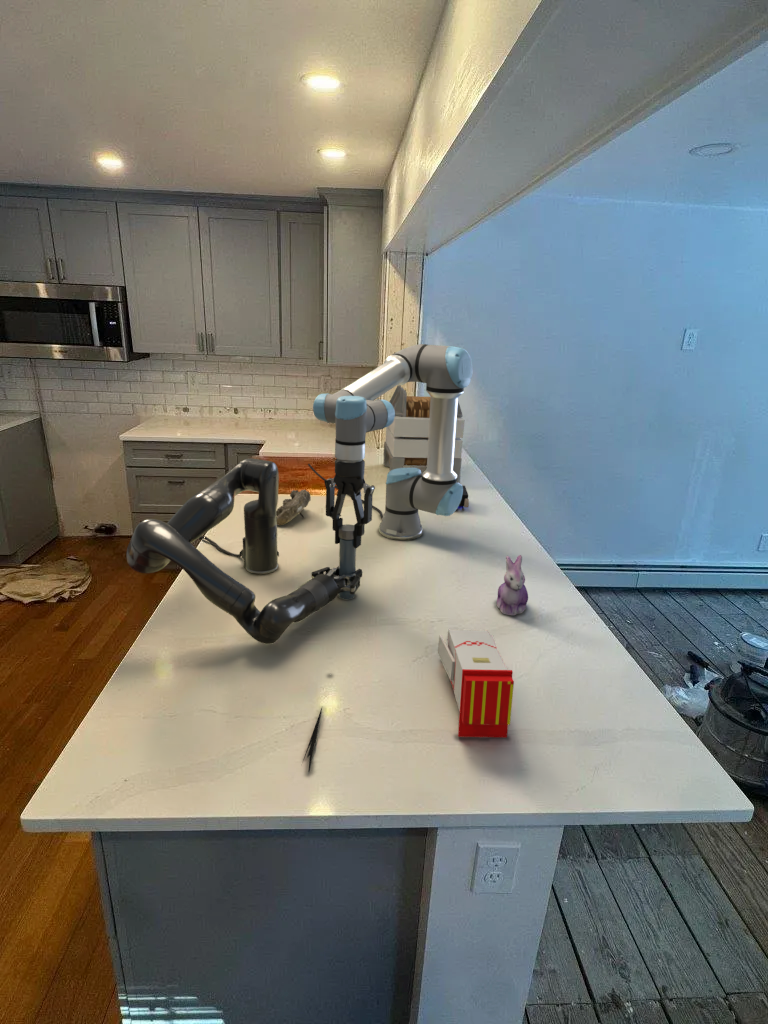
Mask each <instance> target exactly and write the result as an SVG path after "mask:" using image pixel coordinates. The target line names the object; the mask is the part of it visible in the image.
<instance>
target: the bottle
mask: <svg viewBox="0 0 768 1024" xmlns="http://www.w3.org/2000/svg"><path fill="white" fill-rule="evenodd" d="M338 546H339V549H338V566H339V576H342V575H345V574H347V575H350V574H352V573H353V572H355V571H356V570H357V548H354V539H352V540H345V539H341V538H340V539H339V543H338ZM350 581H351V578H350ZM355 597H356V593H355V594H350V591H344V592H341V593H339V594H338V598H340V599H342V600H346V601H347V600H352V599H355Z"/></svg>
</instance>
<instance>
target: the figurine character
mask: <svg viewBox="0 0 768 1024" xmlns="http://www.w3.org/2000/svg"><path fill="white" fill-rule="evenodd" d="M461 485H462V487H463V495H462V499H461V502H460V504H459V506H458V508H457V509H456V511H455V512H457V511H458V509H461V511H462V512H464V511H465V508H469V505H470V500H469V492H468V490H467V488H466V485H464V484H461Z"/></svg>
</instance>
